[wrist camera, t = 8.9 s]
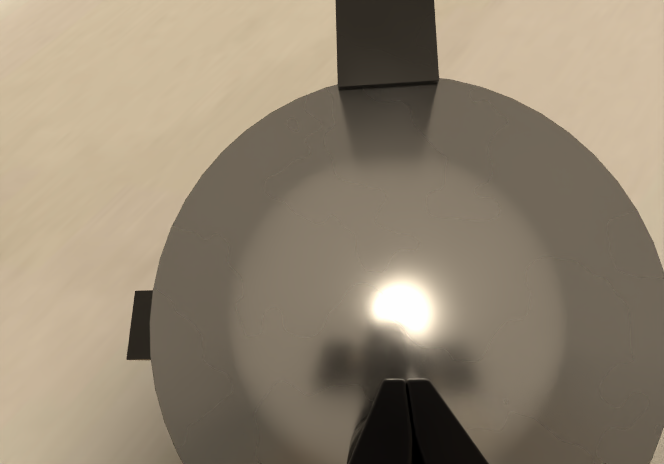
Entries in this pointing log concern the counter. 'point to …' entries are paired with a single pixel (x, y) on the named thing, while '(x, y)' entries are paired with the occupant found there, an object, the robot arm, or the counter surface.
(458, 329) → the cooker lid
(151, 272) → the counter surface
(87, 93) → the counter surface
